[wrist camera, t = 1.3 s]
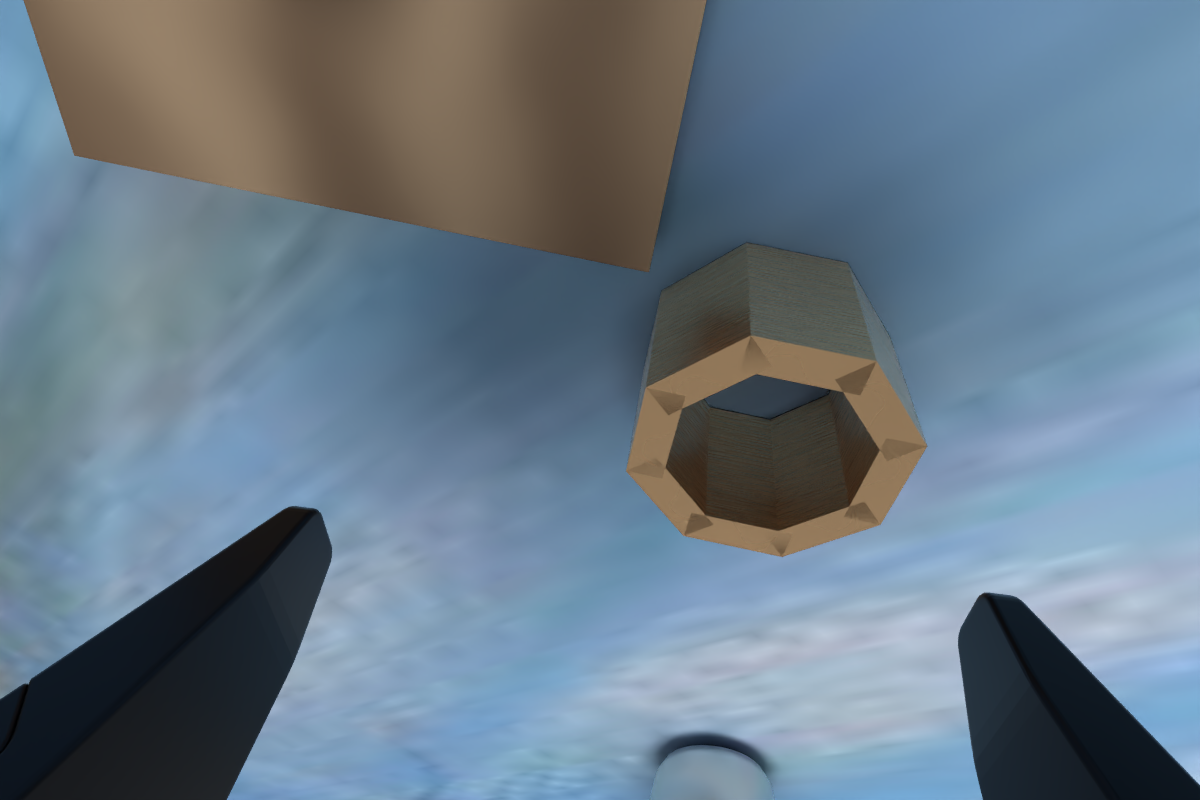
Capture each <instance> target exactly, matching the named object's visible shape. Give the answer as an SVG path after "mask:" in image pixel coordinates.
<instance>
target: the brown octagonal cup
mask: <svg viewBox="0 0 1200 800" xmlns="http://www.w3.org/2000/svg"><path fill="white" fill-rule="evenodd" d="M756 374H758V375H763V376H768V377H773V378H778V379H782V380H787V381H792V382H797V383H802V384H807V385H812V386H816V387H821V388H826V389H831V390H830V392H829V395H827V396H824V397H822V398H820V399H817V400H815V401H813V402H810V403H808V404H806V405H804V406H801V407H799V408H797V409H794V410H792V411H790V412H787V413H785V414H783V415H780V416H778V417H776V418H773V419H771V420H769V419H764V418H760V417H755V416H750V415H745V414H740V413H736V412H731V411H726V410H721V409H716V408H712V407H709V405H708V404H707V403H706V401H705V400H704V398H706V397H708V396H711V395H713V394H715V393H717V392H719V391H721V390H723V389H726V388H728V387H730V386H732V385H734V384H736V383H738V382H741V381H743V380H745V379H747V378H749V377H751V376H753V375H756ZM926 447H927V444H926V441H925V438H924V435H923V432H922V429H921V426H920V423H919V421H918V418H917V415H916V412H915V409H914V406H913V403H912V400H911V397H910V394H909V391H908V388H907V385H906V382H905V380H904V377H903V374H902V371H901V368H900V365H899V362H898V359H897V356H896V353H895V350H894V347H893V344H892V341H891V339H890V336H889V335H888V333H887V331H886V329H885V328H884V326H883V324H882V322H881V321H880V319H879V317H878V315H877V314H876V312H875V310H874V308H873V307H872V305H871V303H870V301H869V300H868V298H867V296H866V294H865V292H864V291H863V289H862V287H861V285H860V284H859V282H858V280H857V278H856V277H855V275H854V273H853V271H852V270H851V268H850V266H849V264H848V263H846V262H841V261H837V260H832V259H827V258H822V257H817V256H812V255H807V254H802V253H797V252H792V251H787V250H782V249H777V248H772V247H767V246H762V245H757V244H752V243H745V244H743V245H741V246H740V247H738V248H736V249H734V250H732V251H731V252H729V253H727V254H725V255H724V256H722V257H720V258H718V259H717V260H715V261H713V262H711V263H710V264H708V265H706V266H704V267H703V268H701V269H699V270H697V271H695V272H694V273H692V274H690V275H688V276H687V277H685V278H683V279H681V280H680V281H678V282H676V283H674V284H673V285H671V286H669V287H667V288H666V289H664V290H662V291H661V295H660V300H659V304H658V308H657V313H656V317H655V321H654V326H653V330H652V335H651V339H650V343H649V348H648V352H647V356H646V361H645V365H644V370H643V376H642V382H641V388H640V393H639V399H638V405H637V411H636V417H635V422H634V428H633V434H632V440H631V446H630V451H629V457H628V463H627V469H626V471H627V473H628V474H629V475H630V476H631V477H632V478H633V479H634V480H635V482H636V483H637V484H638V485H639V486H640V487H641V488H642V489H643V491H644V492H645V493H646V494H647V495H648V496H649V497H650V498H651V500H652V501H653V502H654V503H655V504H656V505H657V506H658V508H659V509H660V510H661V511H662V512H663V513H664V514H665V515H666V517H667V518H668V519H669V520H670V521H671V522H672V523H673V524H674V526H675V527H676V528H677V529H678V530H679V531H680V532H681V533H682V535H683V536H687V537H692V538H696V539H701V540H706V541H710V542H715V543H720V544H724V545H729V546H734V547H738V548H743V549H748V550H752V551H757V552H762V553H767V554H771V555H776V556H781V557H783V556H786V555H789V554H792V553H795V552H798V551H801V550H805V549H808V548H811V547H814V546H817V545H820V544H823V543H826V542H829V541H832V540H835V539H838V538H841V537H844V536H847V535H850V534H854V533H857V532H860V531H863V530H866V529H869V528H872V527H875V526H878V525H881V523H882V521H883V519H884V518H885V516H886V514H887V513H888V511H889V509H890V508H891V506H892V504H893V503H894V501H895V499H896V498H897V496H898V494H899V493H900V491H901V489H902V488H903V486H904V484H905V483H906V481H907V479H908V478H909V476H910V474H911V473H912V471H913V469H914V468H915V466H916V464H917V462H918V461H919V459H920V457H921V456H922V454H923V452H924V451H925V449H926Z"/></svg>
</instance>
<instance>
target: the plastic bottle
mask: <svg viewBox="0 0 1200 800" xmlns="http://www.w3.org/2000/svg"><path fill="white" fill-rule="evenodd" d="M650 800H775V799H774V794H773V789H772V785H771V783H770V781H769V780H768V778H767V777H766V775H765V773H764V772H763V770H762V769H761V767H760V766H759V765H758V764H757V763H756V762H755V761H754V760H752V759H751V758H750V757H748V756H746V755H744V754H742V753H740V752H737V751H734V750H731V749H727V748H723V747H718V746H710V745H695V746H688V747H683V748H680V749H677V750H675V751H673V752H672V753H670V754H669V755H668V756H667V757H666V759H665V760H664V761H663V762H662V764H661V765H660V766H659V768H658V769H657V772H656V775H655V779H654V783H653V787H652V791H651V796H650Z"/></svg>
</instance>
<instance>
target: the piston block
mask: <svg viewBox="0 0 1200 800" xmlns="http://www.w3.org/2000/svg"><path fill="white" fill-rule="evenodd" d="M706 1H707V0H24V3H25V6H26V9H27V12H28V15H29V18H30V21H31V25H32V28H33V31H34V34H35V37H36V40H37V43H38V46H39V49H40V52H41V55H42V58H43V61H44V64H45V67H46V70H47V73H48V76H49V79H50V83H51V86H52V89H53V92H54V95H55V98H56V101H57V104H58V107H59V110H60V113H61V116H62V119H63V122H64V125H65V128H66V131H67V134H68V137H69V140H70V144H71V147H72V150H73V153H74V156H79V157H84V158H89V159H94V160H99V161H104V162H109V163H114V164H119V165H124V166H129V167H133V168H138V169H143V170H148V171H153V172H158V173H163V174H168V175H173V176H178V177H183V178H188V179H192V180H197V181H202V182H207V183H212V184H217V185H222V186H227V187H232V188H237V189H242V190H247V191H251V192H256V193H261V194H266V195H271V196H276V197H281V198H286V199H291V200H296V201H301V202H306V203H310V204H315V205H320V206H325V207H330V208H335V209H340V210H345V211H350V212H355V213H360V214H365V215H370V216H374V217H379V218H384V219H389V220H394V221H399V222H404V223H409V224H414V225H419V226H424V227H429V228H433V229H438V230H443V231H448V232H453V233H458V234H463V235H468V236H473V237H478V238H483V239H488V240H492V241H497V242H502V243H507V244H512V245H517V246H522V247H527V248H532V249H537V250H542V251H547V252H551V253H556V254H561V255H566V256H571V257H576V258H581V259H586V260H591V261H596V262H601V263H606V264H610V265H615V266H620V267H625V268H630V269H635V270H640V271H645V272H649V270H650V265H651V260H652V255H653V251H654V246H655V241H656V237H657V232H658V227H659V222H660V218H661V213H662V208H663V204H664V199H665V194H666V189H667V185H668V180H669V175H670V171H671V166H672V161H673V156H674V152H675V147H676V142H677V138H678V133H679V128H680V123H681V119H682V114H683V109H684V105H685V100H686V95H687V90H688V86H689V81H690V76H691V72H692V67H693V62H694V57H695V53H696V48H697V43H698V39H699V34H700V29H701V24H702V20H703V15H704V10H705V6H706Z"/></svg>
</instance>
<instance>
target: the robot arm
mask: <svg viewBox="0 0 1200 800" xmlns="http://www.w3.org/2000/svg"><path fill="white" fill-rule="evenodd" d="M331 558H332V546H331V543H330V539H329V536H328V533H327V530H326V527H325V524H324V521H323V517H322V515H321V513H320V512H319V511H318V510H317V509H314V508H306V507H298V506H291V507H288V508H285V509H284V510H282V511H281V512H279V513H278V514H276V515H275V516H273V517H272V518H270V519H269V520H267V521H266V522H264V523H263V524H261V525H260V526H258V527H257V528H255V529H254V530H252V531H251V532H249V533H248V534H246V535H245V536H243V537H242V538H240V539H239V540H237V541H236V542H234V543H233V544H231V545H230V546H228V547H227V548H225V549H224V550H222V551H221V552H219V553H218V554H216V555H215V556H213V557H212V558H210V559H209V560H208V561H206V562H205V563H203V564H202V565H200V566H199V567H197V568H196V569H194V570H193V571H191V572H190V573H188V574H187V575H185V576H184V577H182V578H181V579H179V580H178V581H176V582H175V583H173V584H172V585H170V586H169V587H167V588H166V589H164V590H163V591H161V592H160V593H158V594H157V595H155V596H154V597H152V598H151V599H149V600H148V601H146V602H145V603H143V604H142V605H140V606H139V607H137V608H136V609H134V610H133V611H132V612H130V613H129V614H127V615H126V616H124V617H123V618H121V619H120V620H118V621H117V622H115V623H114V624H112V625H111V626H109V627H108V628H106V629H105V630H103V631H102V632H100V633H99V634H97V635H96V636H94V637H93V638H91V639H90V640H88V641H87V642H85V643H84V644H82V645H81V646H79V647H78V648H76V649H75V650H73V651H72V652H70V653H69V654H67V655H66V656H64V657H63V658H61V659H60V660H59V661H57V662H56V663H54V664H53V665H51V666H50V667H48V668H47V669H45V670H44V671H42V672H41V673H39V674H38V675H36V676H35V677H33V678H32V679H31V680H30V682H29V684H22V685H21V686H19V687H18V688H16V689H15V690H13V691H12V692H10V693H9V694H7V695H6V696H5V697H3V698H2V699H0V800H227V798H228V796H229V794H230V792H231V790H232V788H233V786H234V784H235V782H236V780H237V778H238V776H239V774H240V772H241V770H242V767H243V765H244V763H245V761H246V759H247V757H248V755H249V753H250V751H251V749H252V747H253V745H254V743H255V741H256V739H257V737H258V735H259V733H260V731H261V729H262V727H263V725H264V723H265V721H266V719H267V717H268V714H269V712H270V710H271V708H272V706H273V704H274V702H275V700H276V698H277V696H278V694H279V692H280V690H281V688H282V686H283V684H284V682H285V680H286V678H287V676H288V673H289V671H290V669H291V667H292V665H293V663H294V660H295V658H296V655H297V653H298V650H299V648H300V645H301V642H302V640H303V637H304V634H305V631H306V629H307V626H308V623H309V620H310V618H311V615H312V612H313V609H314V607H315V604H316V601H317V598H318V596H319V593H320V590H321V587H322V585H323V582H324V579H325V577H326V574H327V571H328V568H329V566H330V562H331ZM958 648H959V656H960V663H961V671H962V678H963V686H964V693H965V701H966V708H967V716H968V723H969V731H970V738H971V745H972V751H973V758H974V763H975V768H976V772H977V777H978V781H979V785H980V789H981V793H982V797H983V800H1200V785H1199V784H1198V783H1197V782H1196V781H1195V780H1194V779H1193V778H1192V777H1191V776H1190V774H1189V773H1188V772H1187V771H1186V770H1185V769H1184V768H1183V767H1182V766H1181V765H1180V764H1179V763H1178V762H1177V761H1176V760H1175V759H1174V758H1173V757H1172V756H1171V755H1170V754H1169V753H1168V752H1167V751H1166V750H1165V749H1164V748H1163V746H1162V745H1161V744H1160V743H1159V742H1158V741H1157V740H1156V739H1155V738H1154V737H1153V736H1152V735H1151V734H1150V733H1149V732H1148V731H1147V730H1146V729H1145V728H1144V727H1143V726H1142V725H1141V724H1140V723H1139V722H1138V721H1137V720H1136V718H1135V717H1134V716H1133V715H1132V714H1131V713H1130V712H1129V711H1128V710H1127V709H1126V708H1125V707H1124V706H1123V705H1122V704H1121V703H1120V702H1119V701H1118V700H1117V699H1116V698H1115V697H1114V696H1113V695H1112V694H1111V693H1110V692H1109V690H1108V689H1107V688H1106V687H1105V686H1104V685H1103V684H1102V683H1101V682H1100V681H1099V680H1098V679H1097V678H1096V677H1095V676H1094V675H1093V674H1092V673H1091V672H1090V671H1089V670H1088V669H1087V668H1086V667H1085V666H1084V665H1083V664H1082V662H1081V661H1080V660H1079V659H1078V658H1077V657H1076V656H1075V655H1074V654H1073V653H1072V652H1071V651H1070V650H1069V649H1068V648H1067V647H1066V646H1065V645H1064V644H1063V643H1062V642H1061V641H1060V640H1059V639H1058V638H1057V637H1056V636H1055V634H1054V633H1053V632H1052V631H1051V630H1050V629H1049V628H1048V627H1047V626H1046V625H1045V624H1044V623H1043V622H1042V621H1041V620H1040V619H1039V618H1038V617H1037V616H1036V615H1035V614H1034V613H1033V612H1032V611H1031V610H1030V609H1029V608H1028V606H1027V605H1026V604H1025V603H1024V602H1022V601H1021V600H1020V599H1018V598H1017V597H1015V596H1011V595H1003V594H995V593H983V594H982V595H980V596H979V597H978V598H977V600H976V602H975V604H974V605H973V607H972V609H971V611H970V612H969V614H968V616H967V618H966V619H965V621H964V623H963V625H962V627H961V629H960V632H959V637H958Z"/></svg>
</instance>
